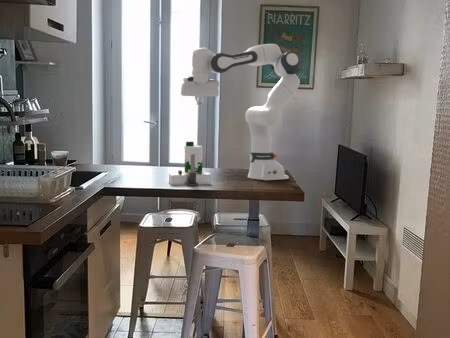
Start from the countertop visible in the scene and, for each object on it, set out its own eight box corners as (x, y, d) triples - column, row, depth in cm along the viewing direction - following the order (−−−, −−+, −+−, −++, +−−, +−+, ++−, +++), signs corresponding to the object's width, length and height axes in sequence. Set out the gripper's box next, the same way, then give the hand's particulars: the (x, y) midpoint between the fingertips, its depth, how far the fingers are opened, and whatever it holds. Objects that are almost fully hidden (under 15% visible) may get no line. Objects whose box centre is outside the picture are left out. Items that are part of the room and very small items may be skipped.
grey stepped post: (196, 184, 249) (197, 153, 246) (198, 186, 244) (199, 155, 241) (186, 185, 247) (186, 153, 245) (188, 186, 242) (188, 155, 240)
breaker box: (207, 181, 259) (207, 168, 258) (210, 184, 251) (211, 171, 250) (168, 182, 253) (169, 169, 252) (171, 185, 246) (171, 172, 245)
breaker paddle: (190, 172, 253) (190, 169, 253) (191, 173, 250) (191, 170, 250) (188, 172, 253) (188, 169, 252) (189, 173, 250) (189, 170, 250)
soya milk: (187, 178, 268) (187, 141, 265) (203, 178, 267) (204, 141, 264) (182, 180, 260) (183, 142, 257) (199, 181, 258) (200, 143, 255)
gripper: (217, 79, 272) (217, 105, 274) (180, 78, 266) (180, 104, 268) (220, 79, 266) (219, 105, 268) (182, 78, 260) (182, 104, 262)
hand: (199, 104), depth 268 cm, fingers closed
